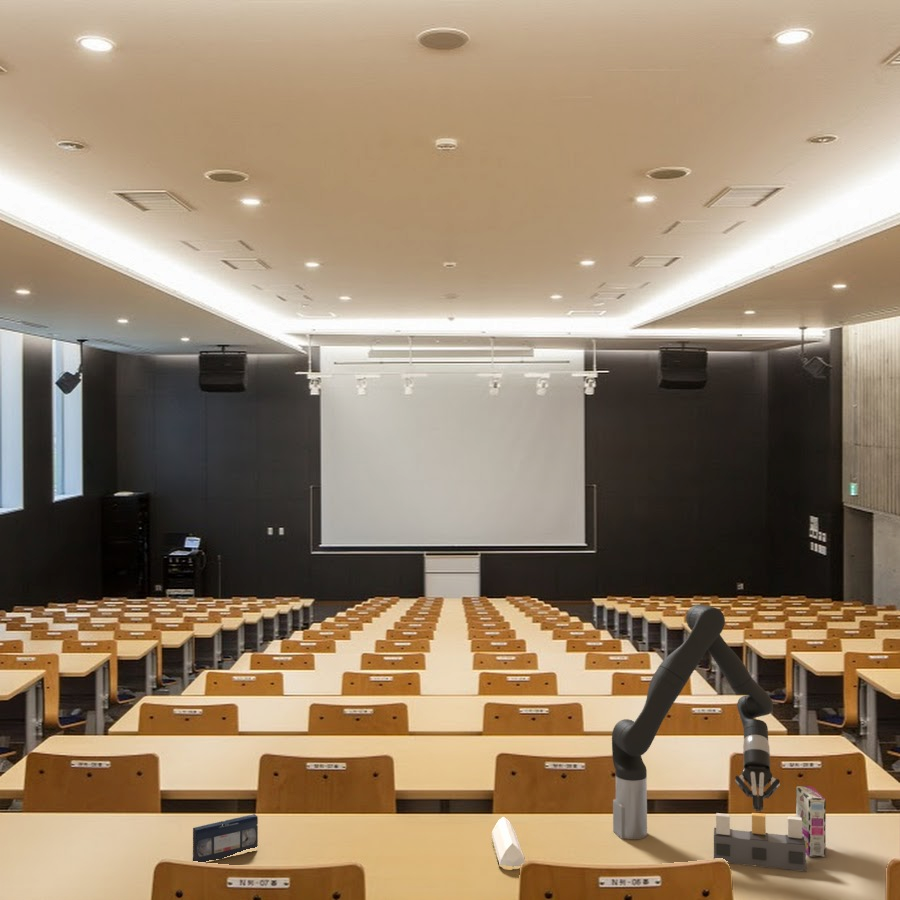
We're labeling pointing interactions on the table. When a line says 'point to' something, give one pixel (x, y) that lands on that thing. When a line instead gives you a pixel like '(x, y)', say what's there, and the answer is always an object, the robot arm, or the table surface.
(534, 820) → the table surface
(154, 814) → the table surface
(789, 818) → the switch right
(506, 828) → the crystal
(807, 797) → the candy bar box
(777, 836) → the power strip
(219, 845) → the vhs cassette tape
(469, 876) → the table surface
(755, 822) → the switch middle
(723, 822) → the switch left
